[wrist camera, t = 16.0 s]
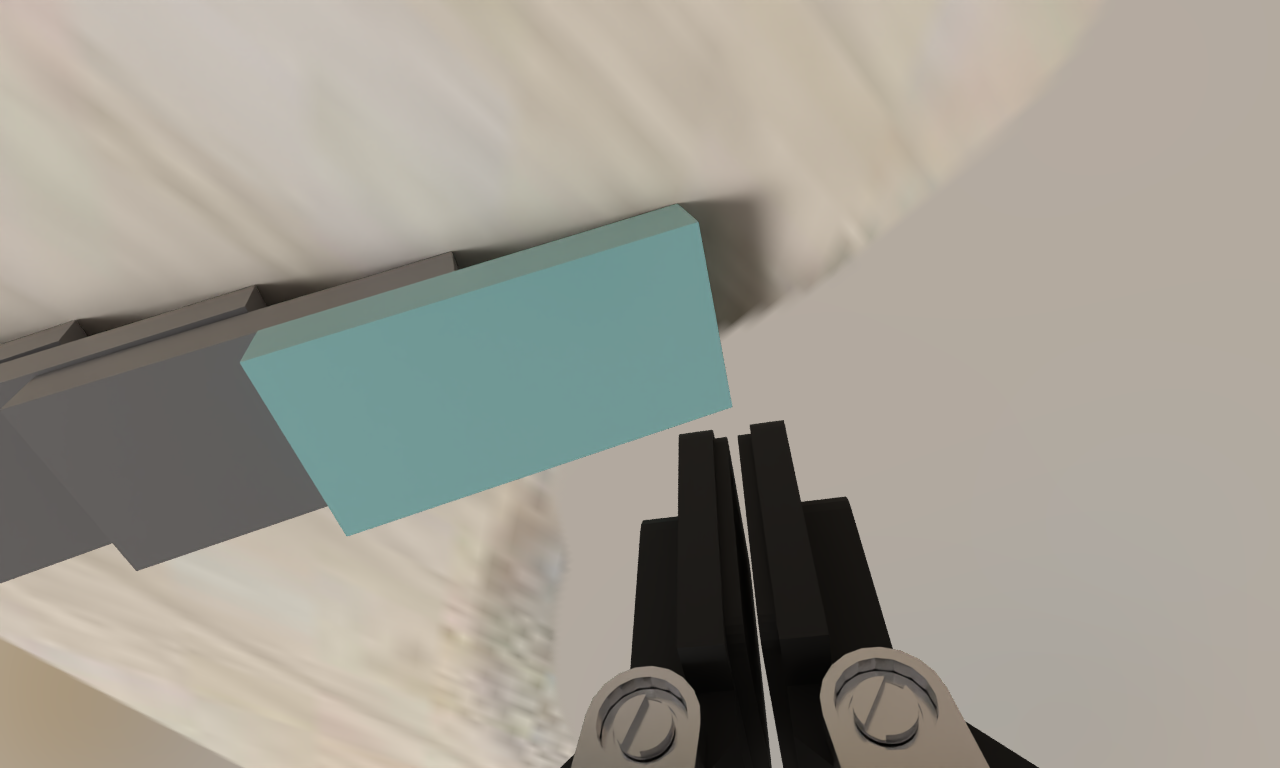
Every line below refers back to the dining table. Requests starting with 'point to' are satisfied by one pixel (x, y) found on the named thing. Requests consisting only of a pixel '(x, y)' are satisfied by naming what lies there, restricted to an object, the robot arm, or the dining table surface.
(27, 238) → the dining table surface
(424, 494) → the teal domino
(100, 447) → the domino
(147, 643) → the dining table surface
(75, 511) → the domino
